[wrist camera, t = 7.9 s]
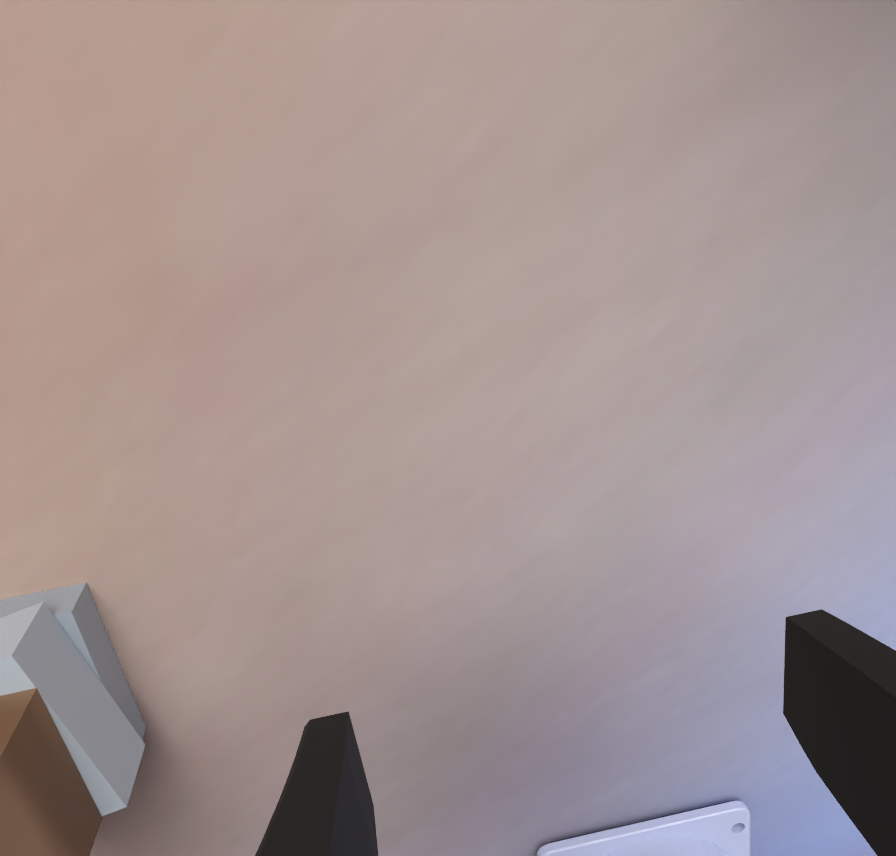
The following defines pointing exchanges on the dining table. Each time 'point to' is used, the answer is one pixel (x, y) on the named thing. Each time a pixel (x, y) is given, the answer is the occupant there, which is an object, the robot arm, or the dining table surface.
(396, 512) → the dining table surface
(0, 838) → the walnut cube
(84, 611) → the tower base
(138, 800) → the dining table surface
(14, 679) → the tower top
